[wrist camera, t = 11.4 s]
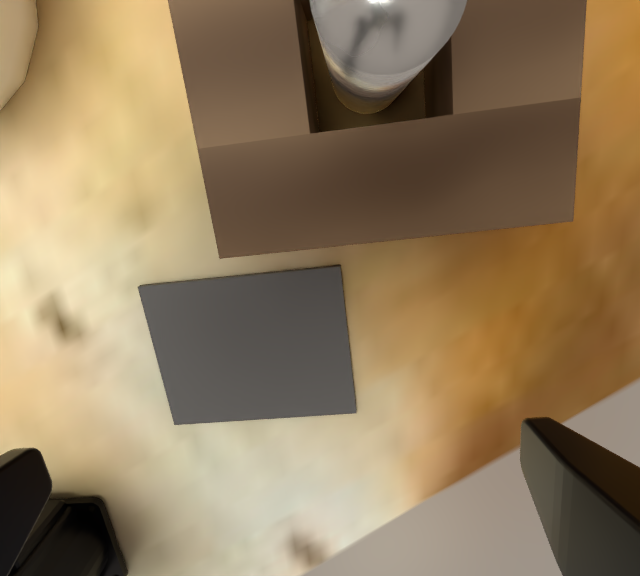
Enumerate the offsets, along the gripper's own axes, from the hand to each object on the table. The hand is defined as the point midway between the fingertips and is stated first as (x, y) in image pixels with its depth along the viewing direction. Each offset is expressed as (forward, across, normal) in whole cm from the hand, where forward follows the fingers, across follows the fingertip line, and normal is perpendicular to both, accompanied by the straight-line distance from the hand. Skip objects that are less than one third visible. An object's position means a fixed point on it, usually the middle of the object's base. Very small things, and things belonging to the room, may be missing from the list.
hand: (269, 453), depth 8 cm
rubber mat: (+13, +4, +4) cm, 14 cm away
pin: (+13, -3, -8) cm, 16 cm away
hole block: (+13, -3, -8) cm, 16 cm away
